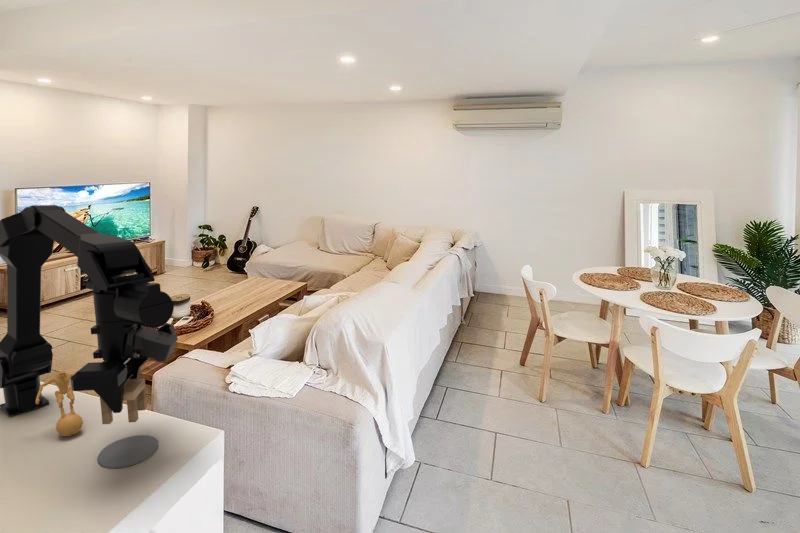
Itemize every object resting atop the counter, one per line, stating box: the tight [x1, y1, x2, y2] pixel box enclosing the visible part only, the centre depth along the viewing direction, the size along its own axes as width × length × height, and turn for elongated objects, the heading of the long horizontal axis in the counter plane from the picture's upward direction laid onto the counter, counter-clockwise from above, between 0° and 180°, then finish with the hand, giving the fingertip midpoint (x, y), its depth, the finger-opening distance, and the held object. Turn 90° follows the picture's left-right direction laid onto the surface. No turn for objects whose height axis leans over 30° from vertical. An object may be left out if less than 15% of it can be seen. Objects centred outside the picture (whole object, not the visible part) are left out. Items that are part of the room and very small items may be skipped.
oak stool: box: [99, 378, 148, 425], centre depth 73 cm, size 5×5×6 cm
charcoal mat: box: [97, 434, 159, 469], centre depth 74 cm, size 9×9×1 cm
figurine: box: [36, 370, 84, 437], centre depth 78 cm, size 8×6×12 cm
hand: (124, 404), depth 73 cm, fingers closed on oak stool, 5 cm apart
